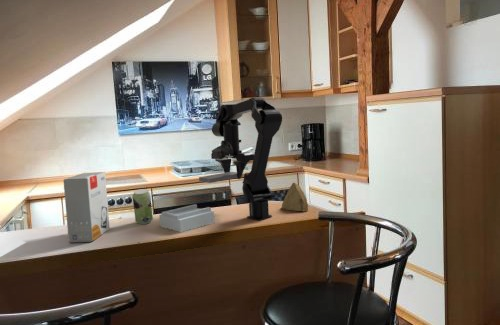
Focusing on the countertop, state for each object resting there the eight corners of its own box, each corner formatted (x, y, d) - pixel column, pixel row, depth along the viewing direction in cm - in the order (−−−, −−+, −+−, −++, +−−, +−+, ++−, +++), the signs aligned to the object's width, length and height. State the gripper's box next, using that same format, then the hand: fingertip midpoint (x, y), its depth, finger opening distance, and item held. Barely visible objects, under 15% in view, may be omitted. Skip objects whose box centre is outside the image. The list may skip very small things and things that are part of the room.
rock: (316, 205, 152) (307, 196, 161) (302, 188, 149) (294, 180, 159) (293, 224, 152) (286, 214, 162) (279, 207, 150) (273, 198, 159)
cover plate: (242, 176, 159) (242, 172, 159) (209, 183, 148) (209, 178, 148) (231, 175, 163) (231, 171, 163) (199, 181, 152) (198, 177, 152)
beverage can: (152, 219, 152) (150, 187, 151) (153, 224, 145) (150, 190, 144) (135, 221, 151) (132, 188, 149) (134, 226, 144) (131, 192, 142)
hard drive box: (92, 242, 128) (86, 178, 125) (68, 243, 128) (61, 179, 125) (110, 228, 143) (105, 171, 141) (88, 229, 143) (82, 172, 141)
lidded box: (214, 222, 143) (213, 208, 143) (180, 232, 134) (179, 216, 133) (193, 217, 152) (192, 203, 151) (160, 226, 142) (159, 211, 142)
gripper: (199, 138, 159) (201, 179, 161) (232, 140, 146) (234, 183, 148) (221, 136, 167) (223, 174, 169) (254, 137, 153) (256, 179, 155)
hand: (233, 178), depth 160 cm, fingers closed on cover plate, 6 cm apart
